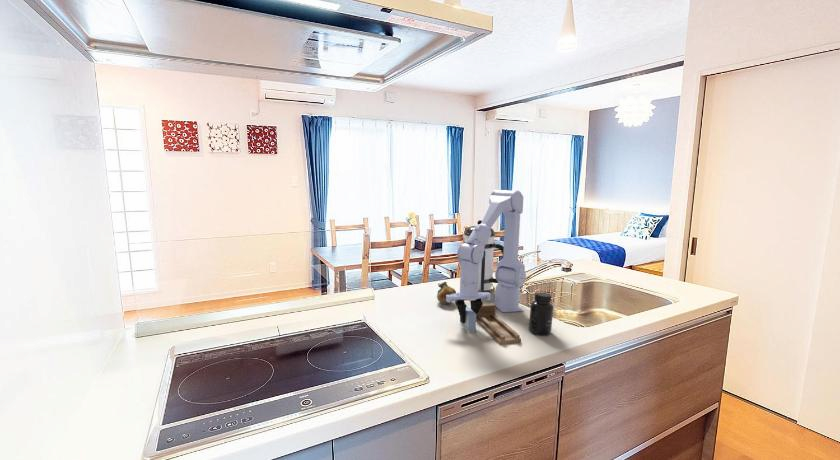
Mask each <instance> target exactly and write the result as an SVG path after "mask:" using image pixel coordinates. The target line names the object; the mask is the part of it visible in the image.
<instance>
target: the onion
mask: <svg viewBox="0 0 840 460" xmlns="http://www.w3.org/2000/svg"><path fill="white" fill-rule="evenodd" d="M447 283H448V282H447V281H444V282H440V283H438V284H437V286H438V287H439V289H438V291H437V294H436V299H437V301H438V302H439V303H440V304H443V305H448V304H451V303H452V302H449V303H448V302H447V301H446V295H450V294H455V293H457V292H456V291H457V290H455V288H453V287H451V286H449V285H448V284H447Z"/></svg>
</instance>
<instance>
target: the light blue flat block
mask: <svg viewBox="0 0 840 460" xmlns="http://www.w3.org/2000/svg"><path fill="white" fill-rule="evenodd" d="M459 322H460V324H461V325H462V327H464V328H465V329H466V331H468V332H469V333H476V330H477V322H476V313H475V312H474V311H473V310H472V309H471V307H470V306H469V305H467V306H466V311H465V323H462V322H461V320H460V319H459Z"/></svg>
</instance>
